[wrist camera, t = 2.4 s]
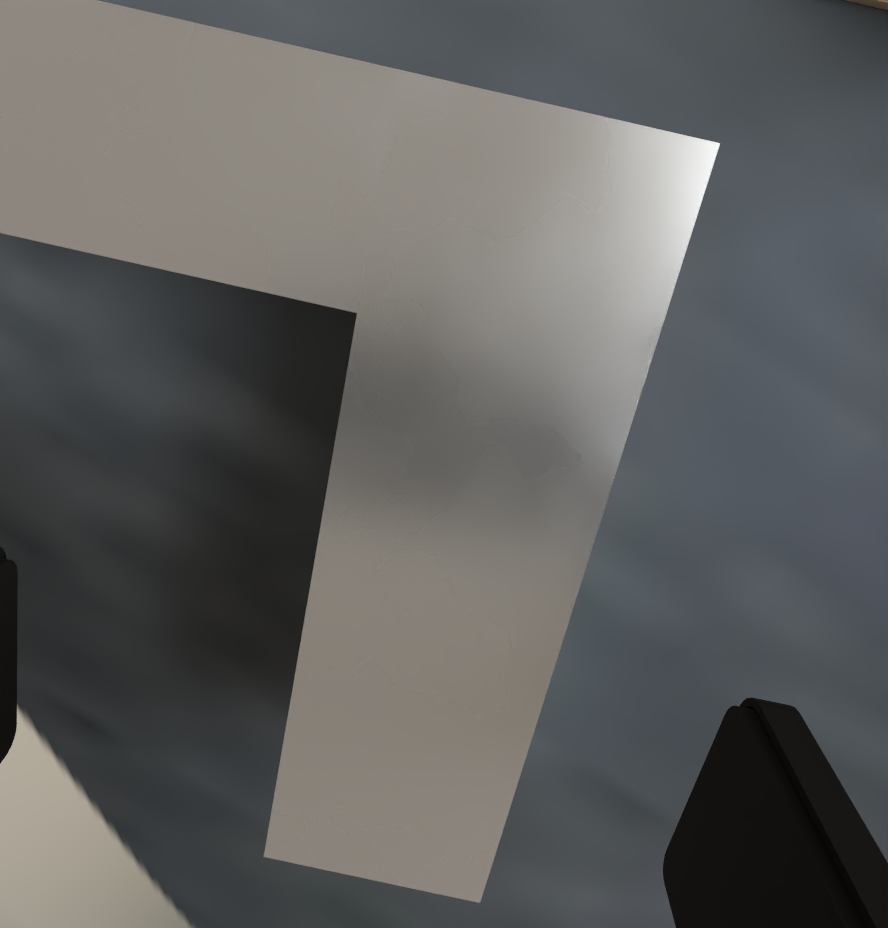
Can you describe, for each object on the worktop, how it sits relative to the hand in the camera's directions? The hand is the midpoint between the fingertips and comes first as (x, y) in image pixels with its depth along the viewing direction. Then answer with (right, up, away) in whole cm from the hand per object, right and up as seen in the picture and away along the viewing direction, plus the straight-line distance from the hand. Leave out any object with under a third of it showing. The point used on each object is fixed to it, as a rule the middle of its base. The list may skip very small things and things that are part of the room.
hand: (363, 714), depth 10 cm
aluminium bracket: (-1, +4, +6) cm, 7 cm away
